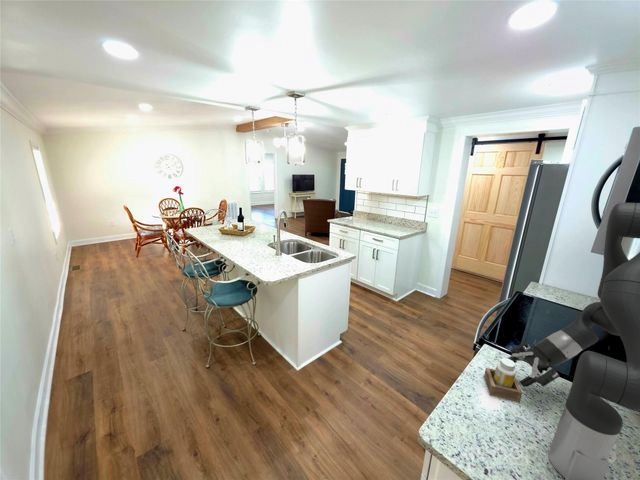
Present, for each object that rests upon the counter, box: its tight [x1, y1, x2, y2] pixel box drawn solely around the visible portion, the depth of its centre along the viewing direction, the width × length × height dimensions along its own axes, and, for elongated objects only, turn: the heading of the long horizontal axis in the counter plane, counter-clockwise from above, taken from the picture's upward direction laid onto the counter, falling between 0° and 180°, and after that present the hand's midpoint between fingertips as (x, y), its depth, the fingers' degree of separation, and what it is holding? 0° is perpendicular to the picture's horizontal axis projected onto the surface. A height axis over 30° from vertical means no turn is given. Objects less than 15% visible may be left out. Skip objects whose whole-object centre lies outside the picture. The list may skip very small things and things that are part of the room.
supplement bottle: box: [493, 357, 517, 388], centre depth 88 cm, size 5×5×10 cm
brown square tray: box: [483, 367, 523, 404], centre depth 89 cm, size 8×8×4 cm
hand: (513, 374), depth 88 cm, fingers open, 8 cm apart
